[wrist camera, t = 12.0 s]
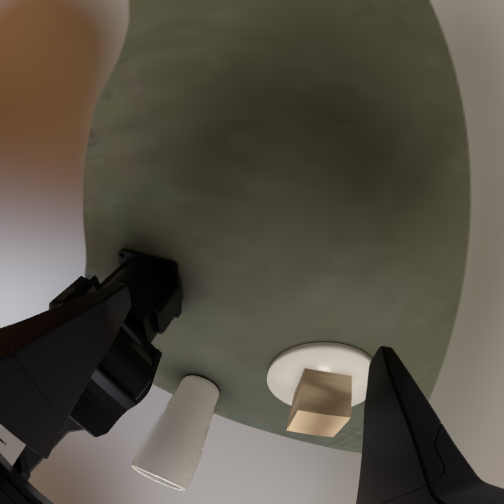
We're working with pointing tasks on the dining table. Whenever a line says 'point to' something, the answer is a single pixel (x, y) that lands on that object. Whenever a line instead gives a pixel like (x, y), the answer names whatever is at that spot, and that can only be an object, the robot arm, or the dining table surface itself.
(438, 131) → the dining table surface
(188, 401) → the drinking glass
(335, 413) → the oak block
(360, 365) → the plate
